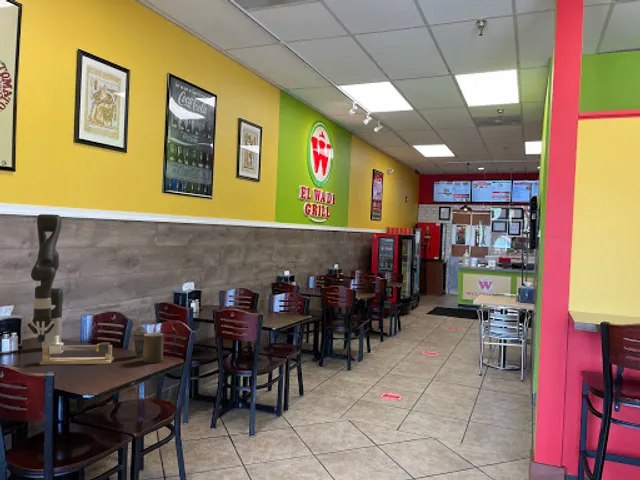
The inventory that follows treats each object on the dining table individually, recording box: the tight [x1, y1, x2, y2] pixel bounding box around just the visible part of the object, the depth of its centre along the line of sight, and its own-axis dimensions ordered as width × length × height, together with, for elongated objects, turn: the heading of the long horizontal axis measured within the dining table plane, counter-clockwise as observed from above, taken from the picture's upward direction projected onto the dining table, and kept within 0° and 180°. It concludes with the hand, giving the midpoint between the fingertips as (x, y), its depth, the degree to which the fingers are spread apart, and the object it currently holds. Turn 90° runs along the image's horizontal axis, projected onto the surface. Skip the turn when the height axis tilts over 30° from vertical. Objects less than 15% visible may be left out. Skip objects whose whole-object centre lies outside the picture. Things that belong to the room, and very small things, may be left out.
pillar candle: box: [142, 332, 164, 364], centre depth 249 cm, size 10×10×15 cm
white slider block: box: [49, 336, 64, 355], centre depth 241 cm, size 5×5×8 cm
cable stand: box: [39, 341, 114, 365], centre depth 243 cm, size 8×32×9 cm, turn 101°
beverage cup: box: [133, 318, 148, 358], centre depth 258 cm, size 7×7×20 cm
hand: (41, 342), depth 240 cm, fingers closed
